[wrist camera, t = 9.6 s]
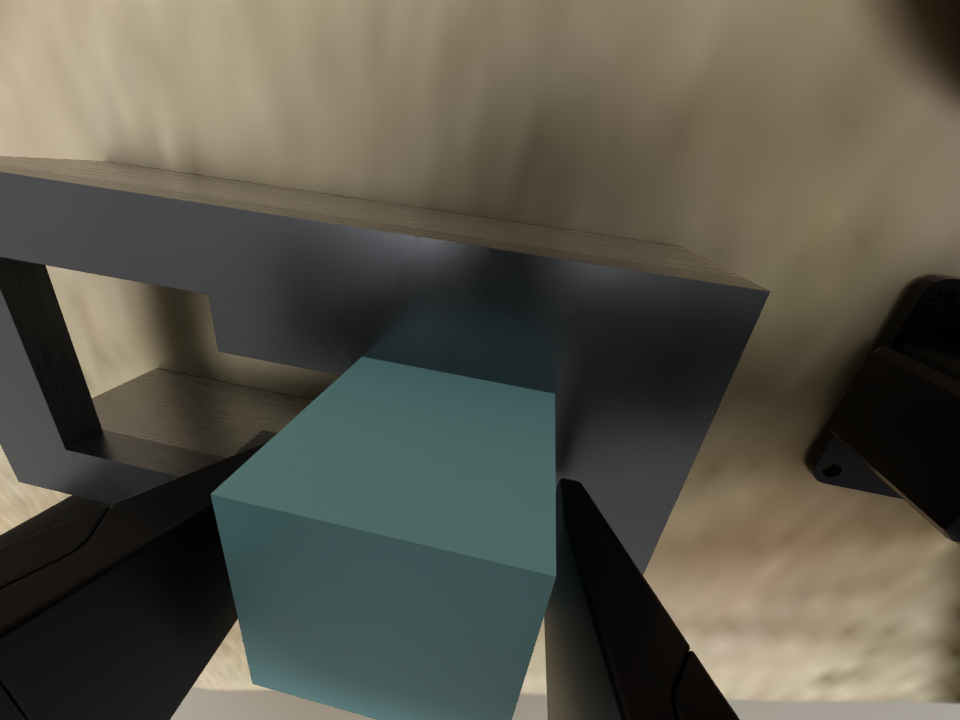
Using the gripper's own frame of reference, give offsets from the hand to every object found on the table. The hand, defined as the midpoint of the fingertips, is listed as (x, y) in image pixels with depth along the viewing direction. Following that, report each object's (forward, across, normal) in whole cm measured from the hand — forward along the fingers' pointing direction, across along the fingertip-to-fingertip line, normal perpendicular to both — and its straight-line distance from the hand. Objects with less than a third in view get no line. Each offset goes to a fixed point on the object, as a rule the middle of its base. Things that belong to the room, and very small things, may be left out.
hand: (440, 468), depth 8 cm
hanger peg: (+4, 0, 0) cm, 4 cm away
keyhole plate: (+6, +4, 0) cm, 7 cm away
